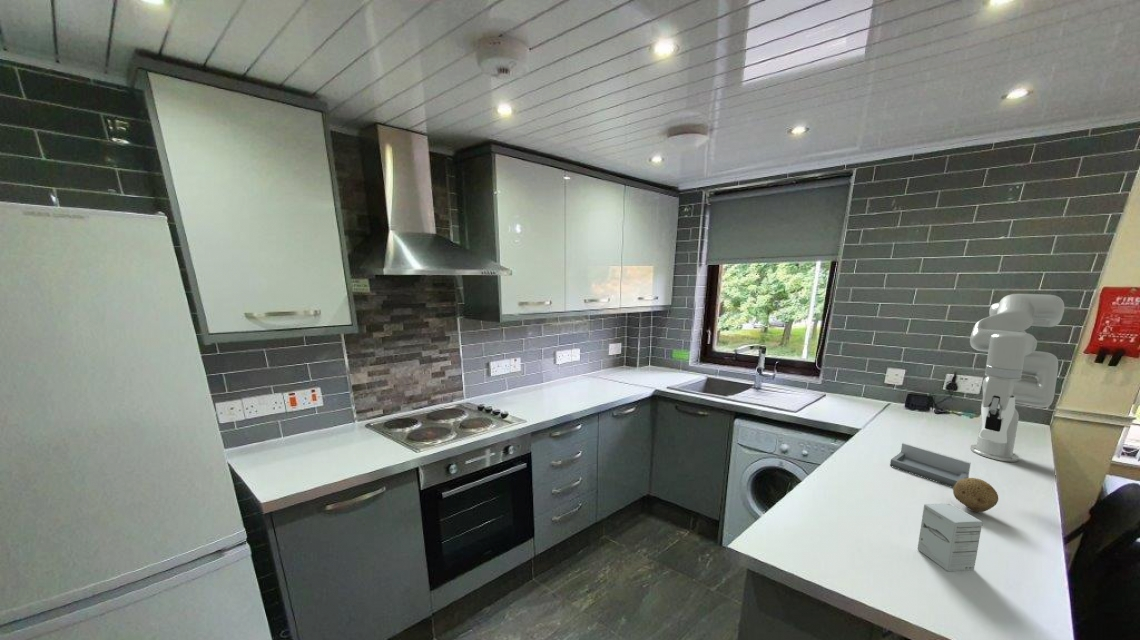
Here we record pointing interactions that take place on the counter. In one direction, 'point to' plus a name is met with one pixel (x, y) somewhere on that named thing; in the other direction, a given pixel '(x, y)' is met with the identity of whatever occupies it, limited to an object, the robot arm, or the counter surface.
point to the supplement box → (949, 536)
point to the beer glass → (1006, 419)
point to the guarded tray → (931, 465)
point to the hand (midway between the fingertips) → (994, 427)
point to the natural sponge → (975, 494)
